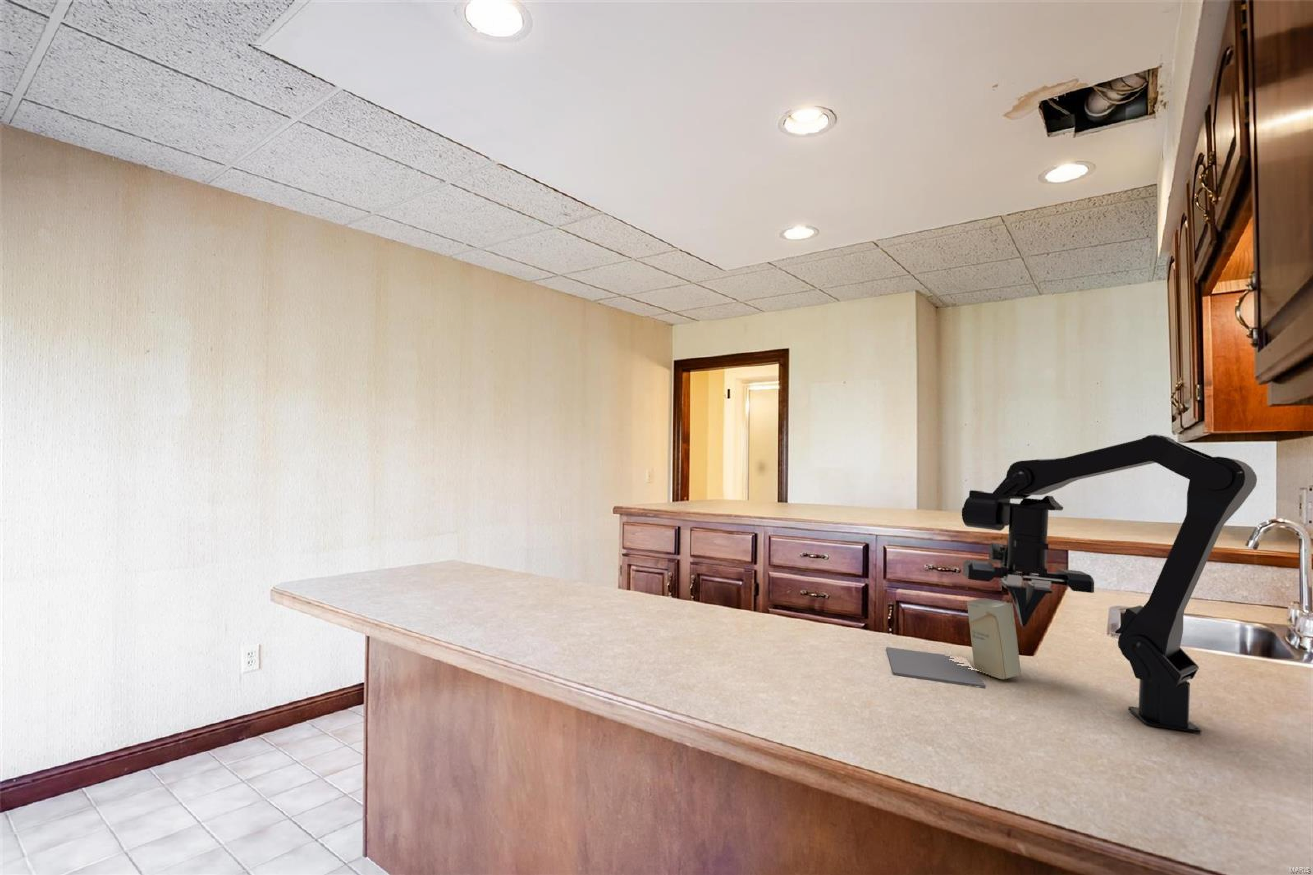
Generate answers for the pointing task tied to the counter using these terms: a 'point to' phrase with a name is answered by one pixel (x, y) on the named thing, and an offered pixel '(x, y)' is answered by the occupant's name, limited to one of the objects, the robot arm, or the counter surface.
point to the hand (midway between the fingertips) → (1023, 626)
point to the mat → (931, 667)
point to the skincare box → (994, 637)
